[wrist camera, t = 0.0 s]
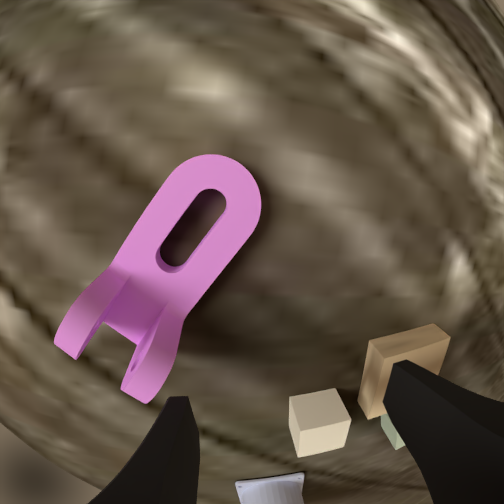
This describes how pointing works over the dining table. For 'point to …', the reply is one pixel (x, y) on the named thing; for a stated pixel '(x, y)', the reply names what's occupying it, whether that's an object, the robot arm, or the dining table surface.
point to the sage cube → (391, 432)
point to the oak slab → (394, 350)
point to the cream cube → (318, 422)
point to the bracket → (163, 272)
